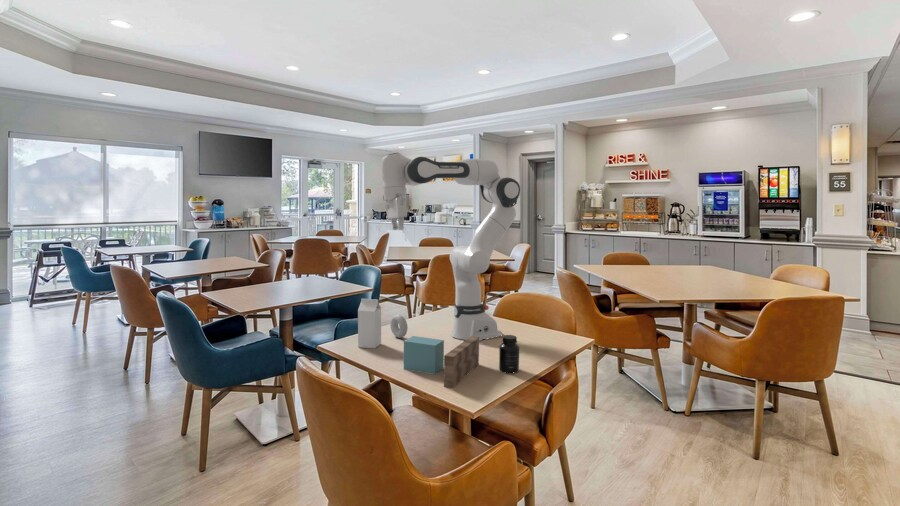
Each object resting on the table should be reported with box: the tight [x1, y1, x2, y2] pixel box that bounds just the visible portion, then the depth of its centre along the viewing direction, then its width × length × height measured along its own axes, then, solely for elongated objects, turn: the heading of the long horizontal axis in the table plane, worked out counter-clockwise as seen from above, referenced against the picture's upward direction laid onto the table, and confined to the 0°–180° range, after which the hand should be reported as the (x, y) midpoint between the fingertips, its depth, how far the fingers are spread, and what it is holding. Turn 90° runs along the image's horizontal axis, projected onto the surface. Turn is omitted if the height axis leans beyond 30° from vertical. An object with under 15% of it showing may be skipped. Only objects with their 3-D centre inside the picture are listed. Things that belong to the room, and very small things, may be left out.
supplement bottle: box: [498, 334, 520, 374], centre depth 161 cm, size 7×7×12 cm
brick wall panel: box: [443, 336, 480, 389], centre depth 156 cm, size 24×3×10 cm, turn 157°
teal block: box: [403, 335, 445, 375], centre depth 162 cm, size 12×7×10 cm, turn 67°
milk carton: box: [357, 298, 382, 349], centre depth 186 cm, size 7×7×19 cm
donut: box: [390, 314, 409, 339], centre depth 199 cm, size 10×4×10 cm, turn 43°
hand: (398, 229), depth 185 cm, fingers open, 8 cm apart
